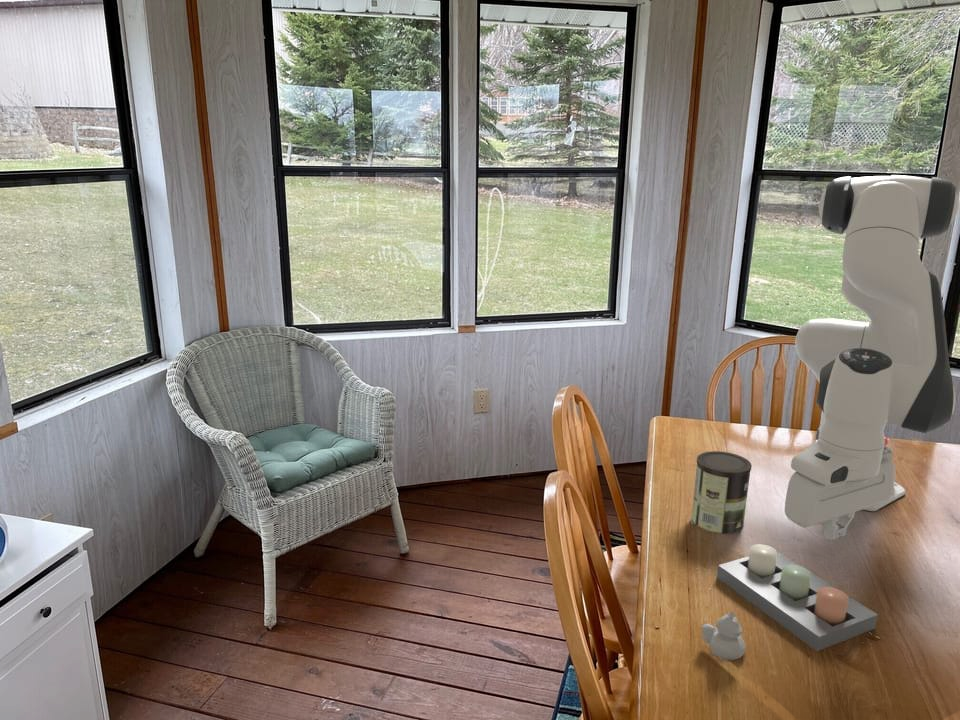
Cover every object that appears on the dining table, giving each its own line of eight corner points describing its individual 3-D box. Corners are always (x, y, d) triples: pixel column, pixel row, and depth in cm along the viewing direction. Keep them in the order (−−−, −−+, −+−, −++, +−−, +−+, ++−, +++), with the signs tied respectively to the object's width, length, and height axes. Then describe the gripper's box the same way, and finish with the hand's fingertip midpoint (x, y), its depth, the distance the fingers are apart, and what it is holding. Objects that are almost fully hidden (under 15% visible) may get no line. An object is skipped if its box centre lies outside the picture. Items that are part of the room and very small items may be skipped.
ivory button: (759, 566, 129) (763, 542, 127) (779, 579, 125) (783, 554, 124) (741, 572, 127) (744, 547, 125) (760, 585, 123) (764, 560, 122)
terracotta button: (826, 611, 117) (830, 584, 115) (849, 627, 113) (855, 599, 111) (806, 618, 115) (811, 590, 113) (830, 634, 111) (835, 606, 110)
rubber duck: (737, 673, 105) (743, 626, 103) (693, 653, 109) (698, 608, 107) (749, 653, 109) (755, 607, 107) (706, 635, 113) (712, 591, 111)
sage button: (791, 587, 123) (795, 562, 121) (812, 602, 119) (817, 575, 117) (772, 594, 121) (776, 568, 119) (793, 608, 117) (797, 582, 116)
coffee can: (739, 515, 150) (747, 453, 146) (747, 541, 140) (755, 474, 136) (688, 510, 152) (694, 448, 148) (692, 535, 142) (699, 469, 138)
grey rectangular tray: (770, 565, 132) (773, 548, 131) (874, 633, 114) (877, 614, 113) (716, 582, 127) (718, 565, 126) (815, 656, 109) (819, 637, 108)
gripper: (875, 436, 116) (861, 512, 121) (783, 460, 108) (771, 541, 112) (912, 451, 111) (896, 530, 115) (818, 478, 102) (805, 562, 107)
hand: (834, 536), depth 114 cm, fingers closed
